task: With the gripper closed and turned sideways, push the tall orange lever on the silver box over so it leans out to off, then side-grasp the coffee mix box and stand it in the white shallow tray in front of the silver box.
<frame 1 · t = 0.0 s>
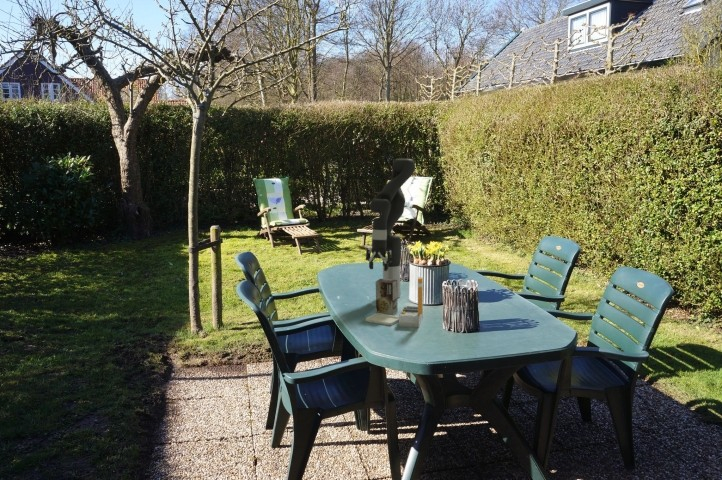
hand: (378, 270, 288), 17 cm above the table, tool pointing down, fingers open, 8 cm apart
white shallow tray: (384, 320, 261), on the table
silver box: (411, 322, 258), on the table
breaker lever: (420, 295, 252), point 13 cm above the table, hinge at 0.0°
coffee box: (386, 313, 273), on the table
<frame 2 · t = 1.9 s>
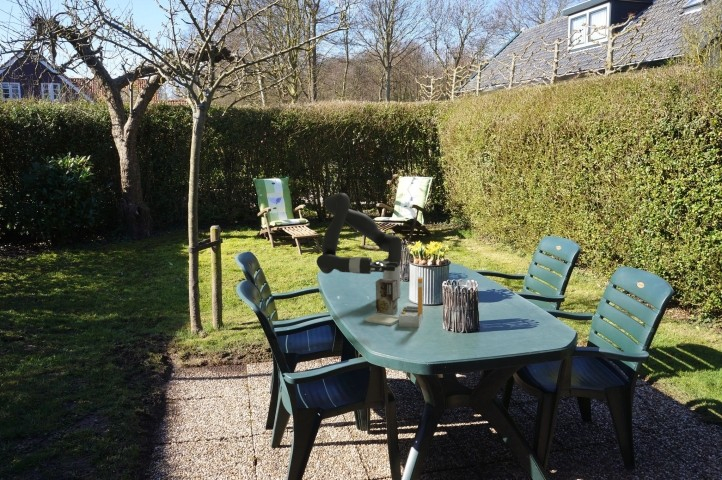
hand: (396, 266, 252), 26 cm above the table, tool horizontal, fingers open, 7 cm apart
nothing on the table moved.
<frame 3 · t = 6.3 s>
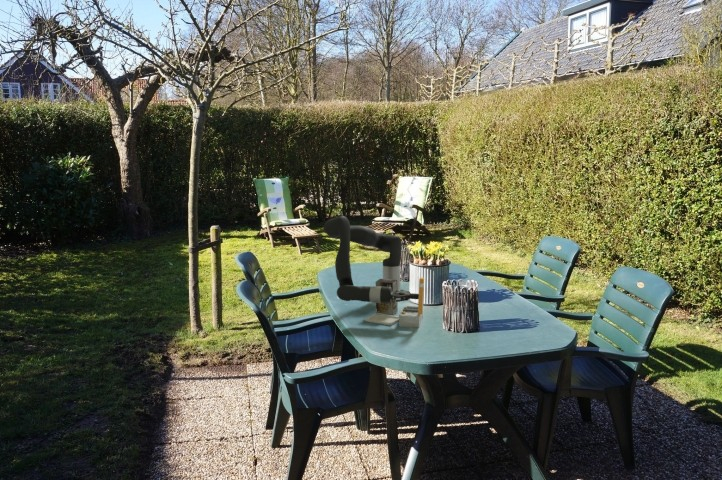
hand: (418, 296, 252), 13 cm above the table, tool horizontal, fingers closed
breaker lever: (421, 295, 252), point 13 cm above the table, hinge at 2.2°, touching gripper
everything else where it was.
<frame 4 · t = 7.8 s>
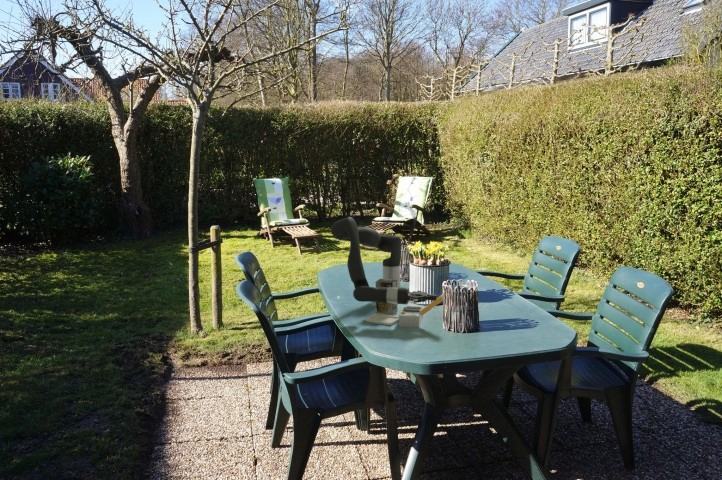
hand: (436, 297, 250), 13 cm above the table, tool horizontal, fingers closed
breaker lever: (434, 303, 251), point 10 cm above the table, hinge at 50.3°
everything else where it was.
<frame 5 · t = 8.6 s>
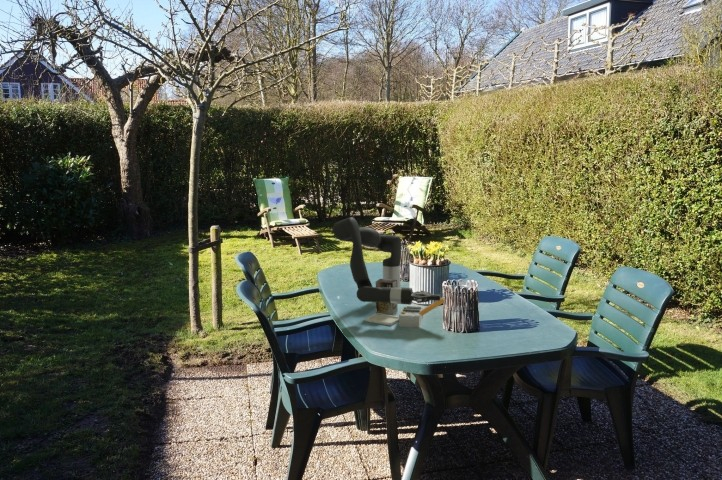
hand: (440, 297, 250), 13 cm above the table, tool horizontal, fingers closed
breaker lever: (435, 304, 251), point 10 cm above the table, hinge at 55.2°, touching gripper
everything else where it was.
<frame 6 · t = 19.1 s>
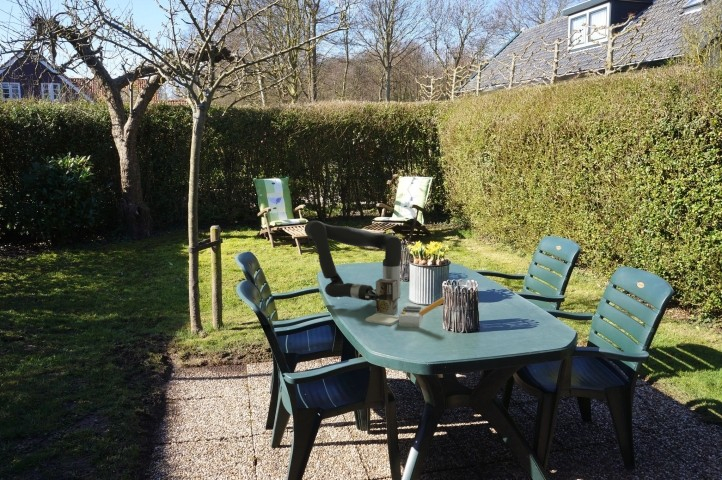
hand: (390, 296, 270), 9 cm above the table, tool horizontal, fingers closed on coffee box, 7 cm apart
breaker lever: (435, 304, 251), point 10 cm above the table, hinge at 55.3°
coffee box: (386, 313, 273), on the table, touching gripper
when the fingers open (10 cm above the table, at t = 24.3 s): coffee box stays where it is, resting on white shallow tray.
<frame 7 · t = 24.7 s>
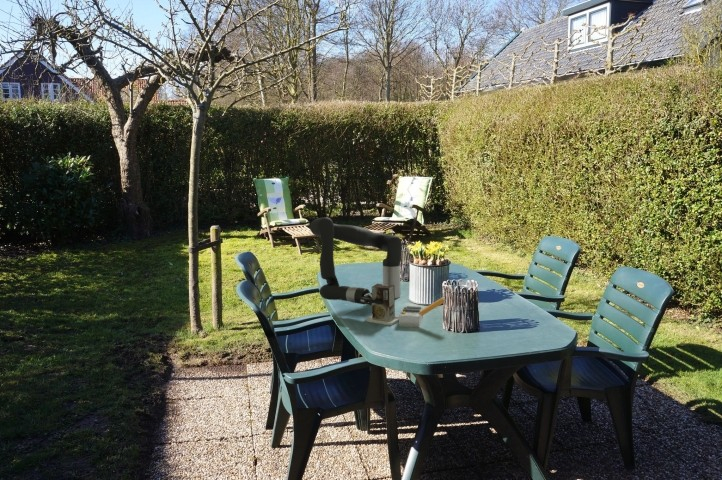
hand: (387, 299, 258), 10 cm above the table, tool horizontal, fingers open, 8 cm apart
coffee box: (383, 319, 261), resting on white shallow tray
everything else where it was.
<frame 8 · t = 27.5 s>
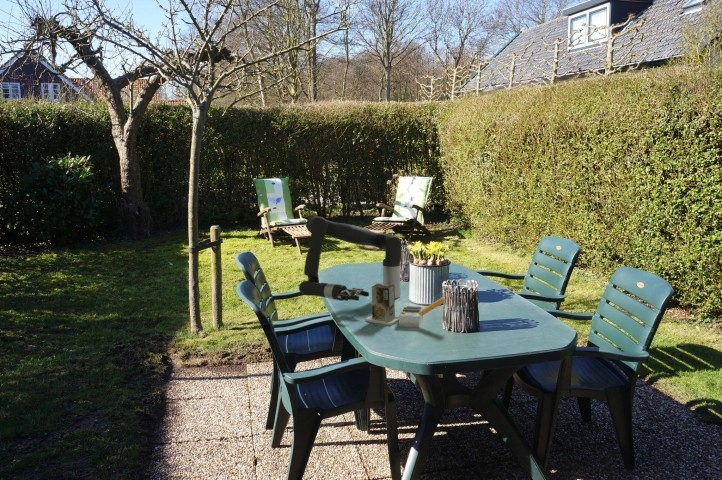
hand: (363, 296, 265), 10 cm above the table, tool horizontal, fingers open, 8 cm apart
nothing on the table moved.
at the end: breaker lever at +55° (first picture: +0°); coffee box 0.2 cm from the white shallow tray (horizontally); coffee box tilted 0° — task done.
